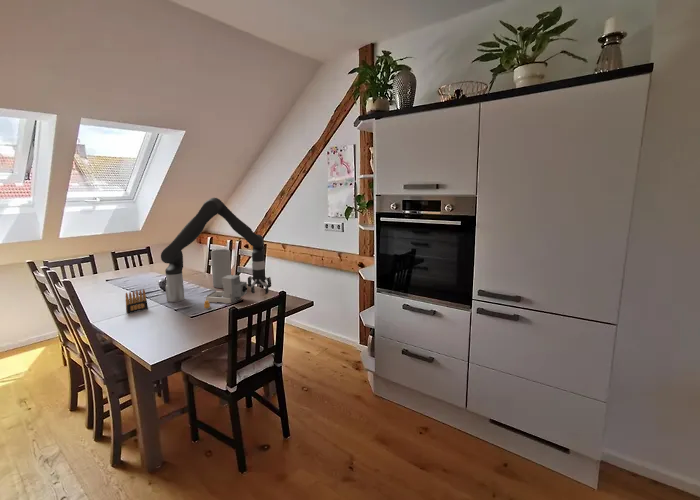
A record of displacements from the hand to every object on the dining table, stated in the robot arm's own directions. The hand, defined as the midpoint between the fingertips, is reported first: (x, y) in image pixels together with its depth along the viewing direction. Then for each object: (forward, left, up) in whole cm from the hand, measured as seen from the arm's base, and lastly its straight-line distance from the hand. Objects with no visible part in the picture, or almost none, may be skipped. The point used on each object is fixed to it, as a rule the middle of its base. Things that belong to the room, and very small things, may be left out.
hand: (260, 293), depth 220 cm
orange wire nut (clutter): (-27, -15, -5) cm, 31 cm away
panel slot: (-24, 0, -5) cm, 24 cm away
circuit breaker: (-16, 0, -6) cm, 17 cm away
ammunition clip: (-63, -27, -6) cm, 68 cm away
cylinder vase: (-40, +27, -6) cm, 48 cm away
